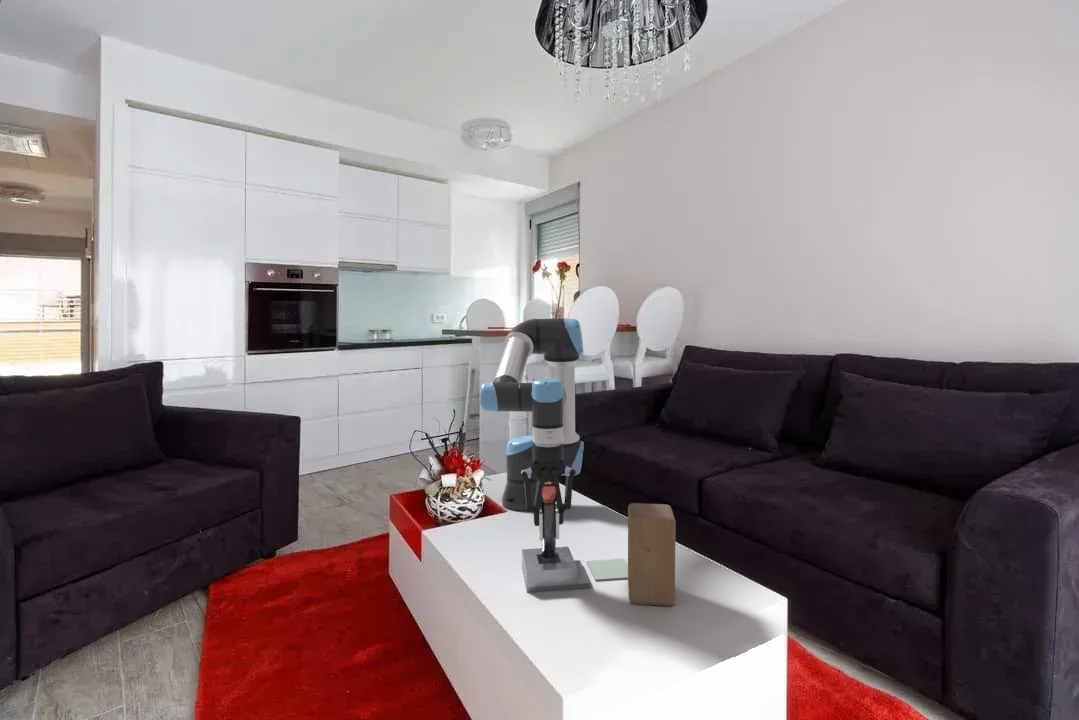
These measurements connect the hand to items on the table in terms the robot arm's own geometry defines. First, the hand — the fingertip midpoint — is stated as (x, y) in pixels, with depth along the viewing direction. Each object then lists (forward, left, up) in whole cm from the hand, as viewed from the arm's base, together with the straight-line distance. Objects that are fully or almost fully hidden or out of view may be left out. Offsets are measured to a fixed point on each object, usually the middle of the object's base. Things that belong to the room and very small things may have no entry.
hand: (548, 537), depth 126 cm
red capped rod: (0, 0, -5) cm, 5 cm away
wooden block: (+11, +22, -10) cm, 27 cm away
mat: (-2, +16, -10) cm, 19 cm away
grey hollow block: (0, +1, -10) cm, 10 cm away
